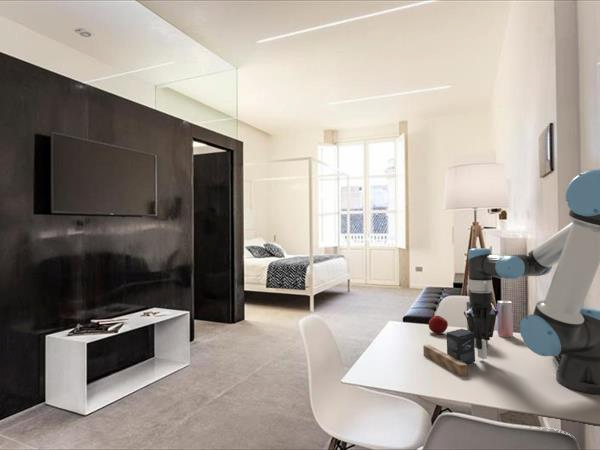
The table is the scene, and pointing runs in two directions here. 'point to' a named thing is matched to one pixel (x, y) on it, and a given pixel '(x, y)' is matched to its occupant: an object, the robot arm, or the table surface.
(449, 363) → the board
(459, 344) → the box
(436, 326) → the apple
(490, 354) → the table surface
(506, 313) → the beverage can
